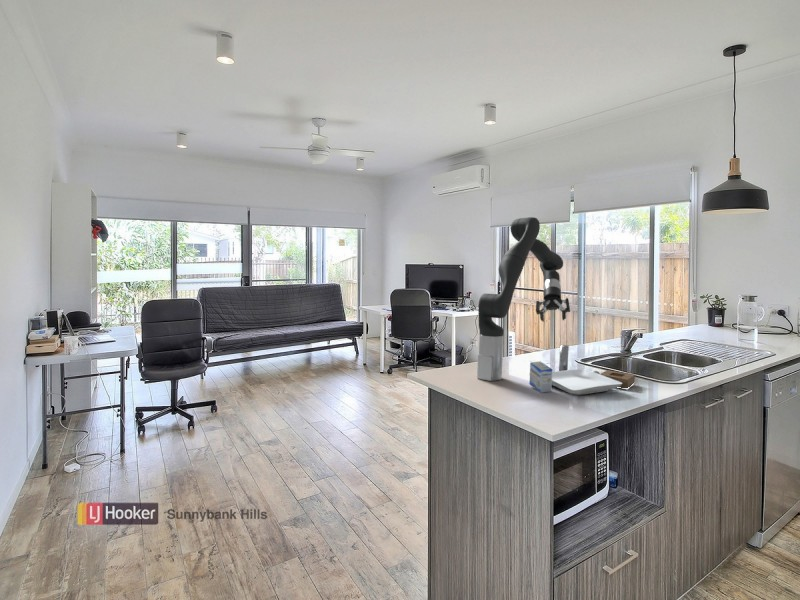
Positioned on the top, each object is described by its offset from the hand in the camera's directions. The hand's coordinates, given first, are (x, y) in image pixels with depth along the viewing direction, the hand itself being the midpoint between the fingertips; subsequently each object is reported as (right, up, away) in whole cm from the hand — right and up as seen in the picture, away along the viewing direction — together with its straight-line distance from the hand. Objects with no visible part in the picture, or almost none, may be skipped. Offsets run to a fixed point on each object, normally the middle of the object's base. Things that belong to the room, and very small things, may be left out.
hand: (553, 319), depth 197 cm
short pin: (+8, -21, -21) cm, 31 cm away
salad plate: (-1, -23, -32) cm, 39 cm away
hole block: (+15, -23, -26) cm, 38 cm away
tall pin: (-2, -22, -17) cm, 28 cm away
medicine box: (-16, -23, -34) cm, 44 cm away
